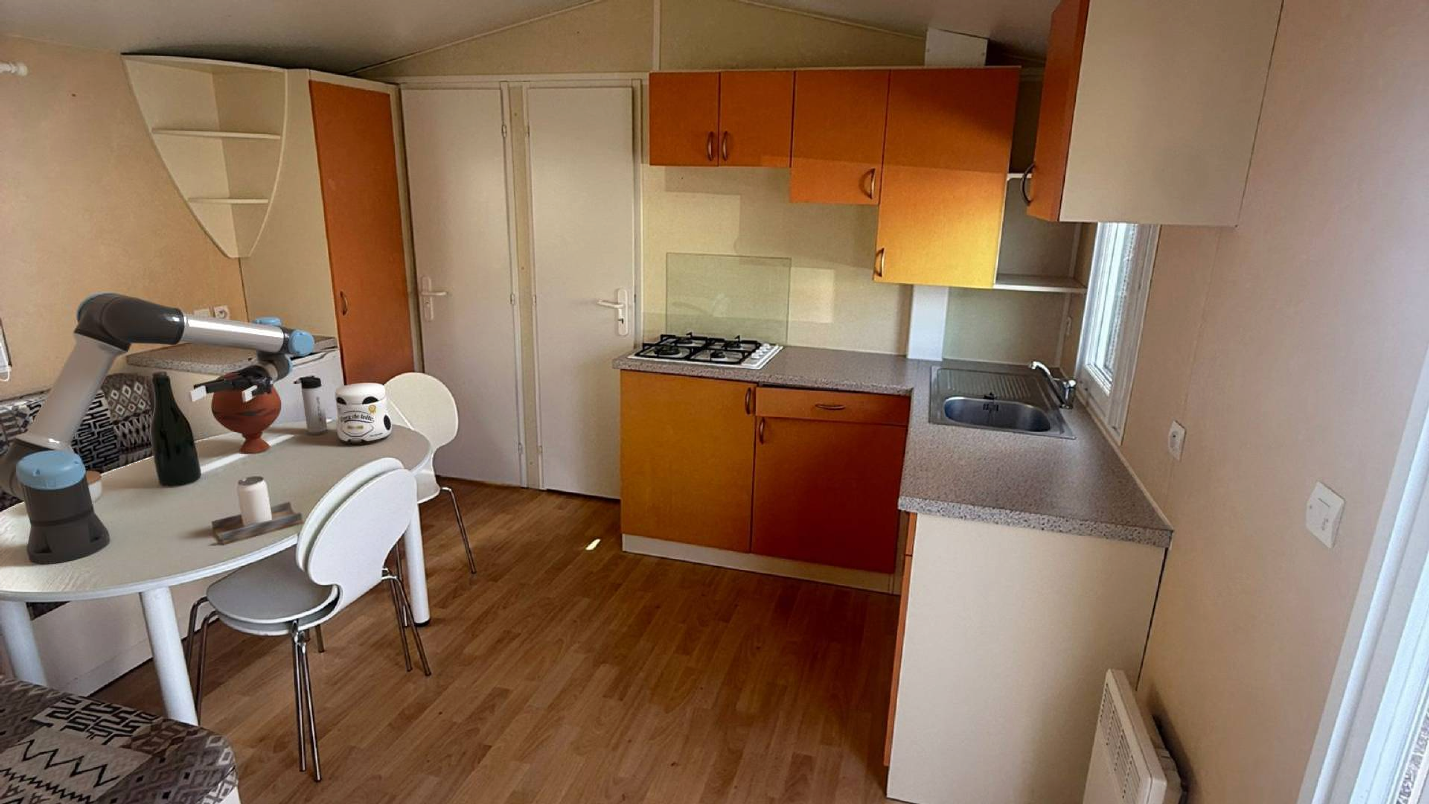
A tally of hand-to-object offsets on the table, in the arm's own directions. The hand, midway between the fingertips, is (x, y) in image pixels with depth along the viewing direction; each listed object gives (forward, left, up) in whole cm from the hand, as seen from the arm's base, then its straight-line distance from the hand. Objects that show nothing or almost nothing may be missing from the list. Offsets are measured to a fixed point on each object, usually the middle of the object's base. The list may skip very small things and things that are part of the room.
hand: (217, 397), depth 200 cm
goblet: (+15, +42, -30) cm, 54 cm away
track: (0, -22, -30) cm, 37 cm away
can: (0, -22, -29) cm, 37 cm away
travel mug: (+36, +47, -30) cm, 66 cm away
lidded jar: (-31, +25, -30) cm, 50 cm away
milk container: (+46, +29, -30) cm, 62 cm away
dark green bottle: (-8, +27, -30) cm, 41 cm away
